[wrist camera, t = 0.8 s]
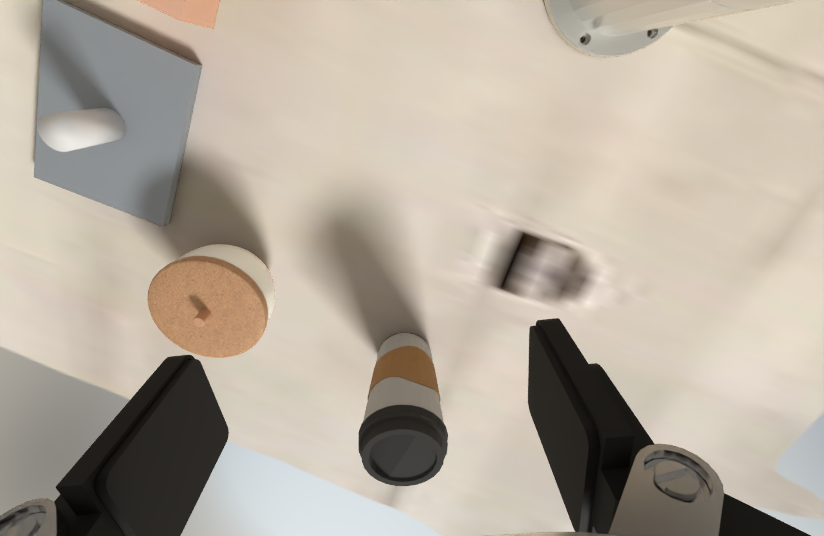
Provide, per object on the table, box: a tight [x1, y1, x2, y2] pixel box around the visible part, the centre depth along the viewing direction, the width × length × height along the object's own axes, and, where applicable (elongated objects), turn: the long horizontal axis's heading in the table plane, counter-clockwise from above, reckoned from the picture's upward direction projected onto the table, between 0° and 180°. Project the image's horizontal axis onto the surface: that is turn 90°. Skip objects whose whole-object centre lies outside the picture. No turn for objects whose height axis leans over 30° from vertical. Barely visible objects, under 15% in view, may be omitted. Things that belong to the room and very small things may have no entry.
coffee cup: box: [359, 333, 448, 486], centre depth 42 cm, size 8×8×15 cm
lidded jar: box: [148, 244, 275, 358], centre depth 40 cm, size 11×11×9 cm
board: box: [34, 0, 202, 227], centre depth 34 cm, size 16×12×7 cm
